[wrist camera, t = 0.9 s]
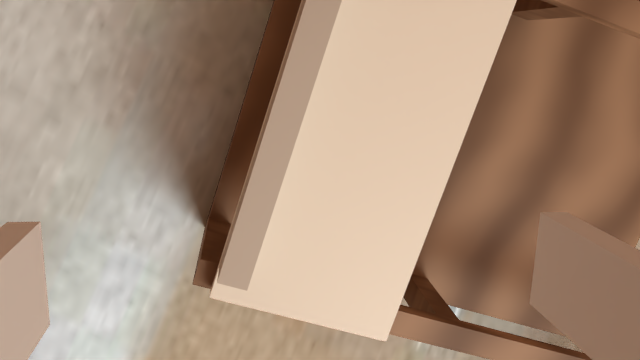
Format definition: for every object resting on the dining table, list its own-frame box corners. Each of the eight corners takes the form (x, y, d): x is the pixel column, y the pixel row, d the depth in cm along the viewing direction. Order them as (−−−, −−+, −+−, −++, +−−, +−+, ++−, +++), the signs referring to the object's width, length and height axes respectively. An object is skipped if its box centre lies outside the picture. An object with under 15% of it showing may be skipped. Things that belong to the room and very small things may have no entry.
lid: (210, 291, 31) (206, 315, 28) (339, -123, 27) (350, -141, 24) (382, 334, 33) (394, 361, 30) (527, -46, 29) (557, -56, 26)
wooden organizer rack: (204, 227, 40) (192, 284, 31) (300, -86, 36) (318, -129, 27) (573, 328, 46) (657, 401, 37) (691, 66, 42) (819, 74, 33)
